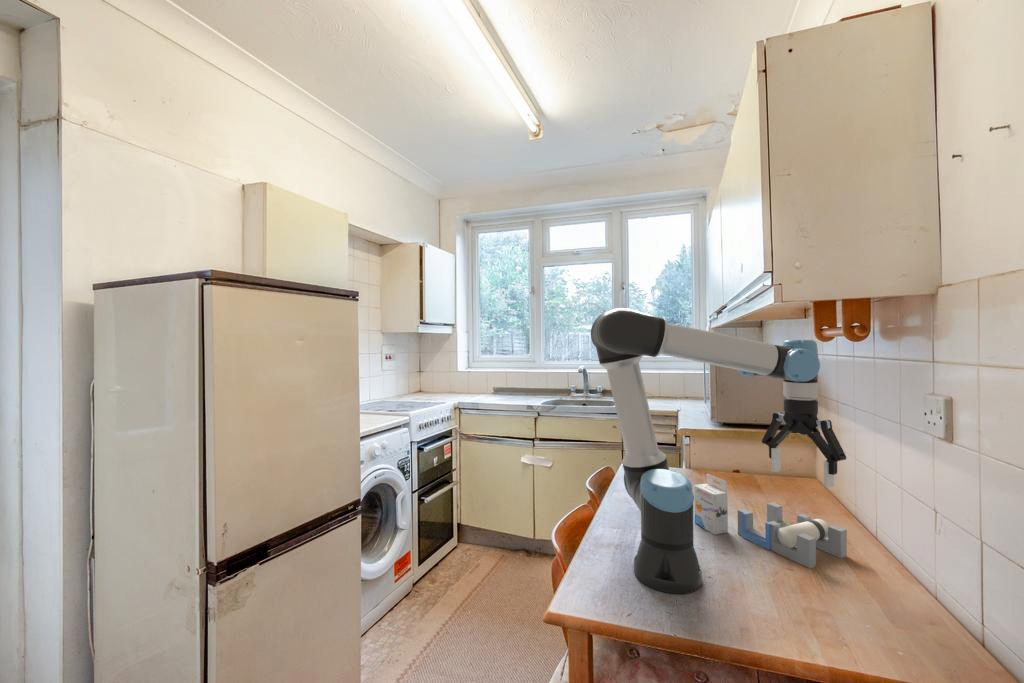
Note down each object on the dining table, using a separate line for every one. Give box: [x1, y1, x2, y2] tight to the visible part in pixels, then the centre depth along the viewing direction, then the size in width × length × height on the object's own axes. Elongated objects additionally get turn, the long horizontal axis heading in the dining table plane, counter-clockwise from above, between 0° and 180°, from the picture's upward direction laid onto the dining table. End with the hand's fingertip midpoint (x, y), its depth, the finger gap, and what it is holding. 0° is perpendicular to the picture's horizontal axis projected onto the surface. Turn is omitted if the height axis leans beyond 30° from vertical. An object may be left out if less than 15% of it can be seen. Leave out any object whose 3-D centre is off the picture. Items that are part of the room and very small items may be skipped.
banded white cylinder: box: [777, 518, 829, 548], centre depth 111 cm, size 14×5×5 cm, turn 112°
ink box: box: [693, 473, 729, 536], centre depth 125 cm, size 8×5×15 cm, turn 17°
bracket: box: [737, 501, 848, 569], centre depth 115 cm, size 16×20×7 cm
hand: (801, 478), depth 112 cm, fingers open, 13 cm apart
